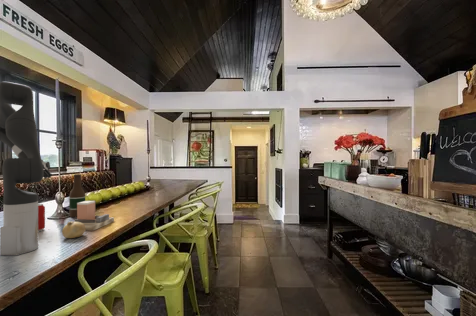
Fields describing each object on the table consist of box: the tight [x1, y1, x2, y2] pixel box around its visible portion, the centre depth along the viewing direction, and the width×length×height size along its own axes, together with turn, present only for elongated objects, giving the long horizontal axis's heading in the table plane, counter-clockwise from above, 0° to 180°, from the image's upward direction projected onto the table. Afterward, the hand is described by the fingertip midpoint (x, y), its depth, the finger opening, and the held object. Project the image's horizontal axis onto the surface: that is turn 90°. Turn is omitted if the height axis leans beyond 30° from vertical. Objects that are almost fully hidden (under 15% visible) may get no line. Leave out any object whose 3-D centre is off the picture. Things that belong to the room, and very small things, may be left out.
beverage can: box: [38, 203, 46, 233], centre depth 108 cm, size 6×6×12 cm
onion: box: [61, 220, 86, 239], centre depth 99 cm, size 8×8×7 cm
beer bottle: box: [68, 173, 86, 218], centre depth 136 cm, size 8×8×24 cm
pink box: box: [76, 200, 96, 220], centre depth 118 cm, size 6×5×9 cm
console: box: [63, 213, 115, 232], centre depth 116 cm, size 16×14×4 cm
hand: (48, 176), depth 119 cm, fingers closed
